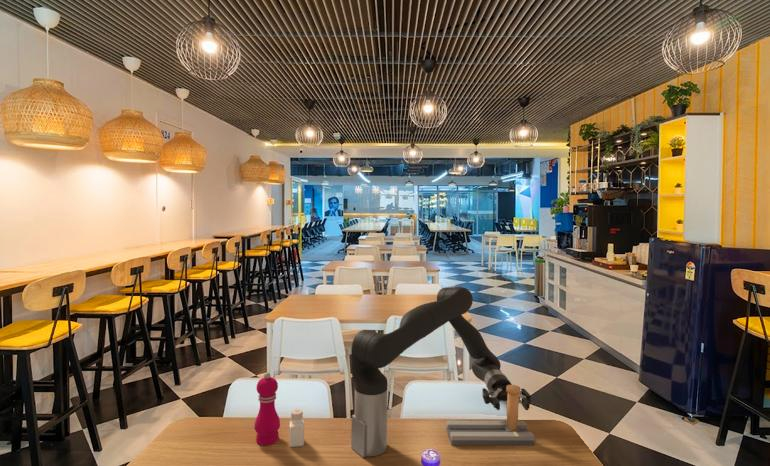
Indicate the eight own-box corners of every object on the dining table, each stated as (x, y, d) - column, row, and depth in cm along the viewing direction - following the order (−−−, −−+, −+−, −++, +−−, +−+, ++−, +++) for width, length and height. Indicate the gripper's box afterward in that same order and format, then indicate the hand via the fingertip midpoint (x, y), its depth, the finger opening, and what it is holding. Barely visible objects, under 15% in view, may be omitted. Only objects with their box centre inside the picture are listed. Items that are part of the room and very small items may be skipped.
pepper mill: (285, 439, 126) (285, 372, 124) (263, 449, 120) (262, 379, 119) (271, 430, 131) (271, 366, 129) (249, 439, 125) (249, 372, 124)
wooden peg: (507, 435, 126) (508, 390, 126) (503, 428, 130) (504, 384, 130) (520, 435, 127) (522, 390, 126) (516, 428, 131) (517, 384, 130)
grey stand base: (451, 445, 124) (451, 435, 124) (446, 429, 133) (446, 420, 133) (534, 445, 124) (534, 436, 124) (523, 429, 133) (523, 420, 133)
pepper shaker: (303, 447, 122) (303, 414, 121) (289, 448, 121) (289, 415, 121) (304, 439, 126) (304, 407, 125) (290, 440, 125) (290, 408, 125)
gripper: (477, 373, 144) (489, 394, 128) (519, 373, 144) (537, 395, 128) (476, 395, 145) (489, 419, 128) (518, 395, 145) (536, 419, 129)
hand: (513, 407), depth 128 cm, fingers open, 8 cm apart
